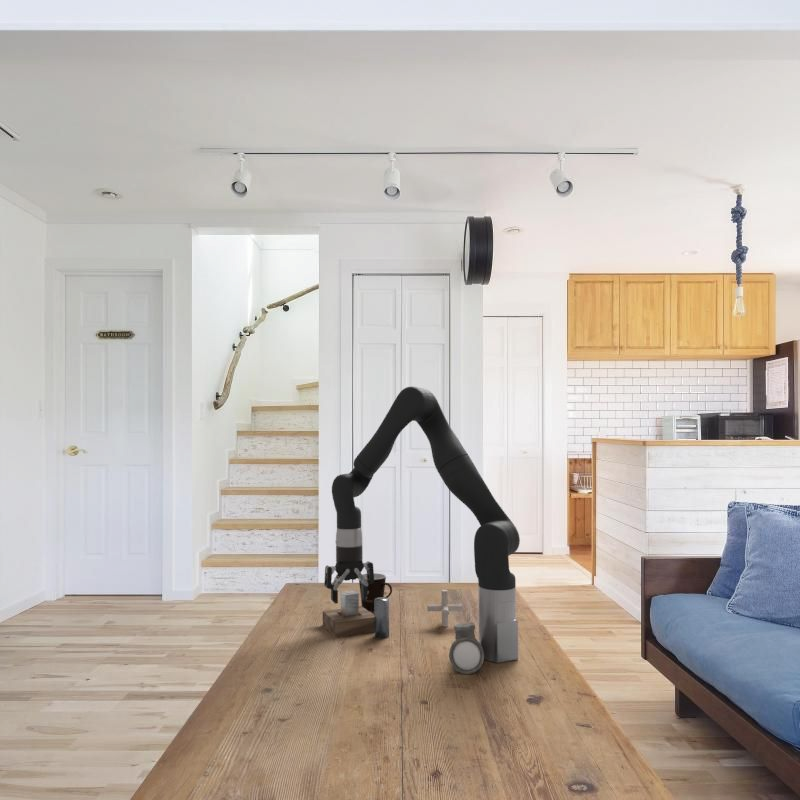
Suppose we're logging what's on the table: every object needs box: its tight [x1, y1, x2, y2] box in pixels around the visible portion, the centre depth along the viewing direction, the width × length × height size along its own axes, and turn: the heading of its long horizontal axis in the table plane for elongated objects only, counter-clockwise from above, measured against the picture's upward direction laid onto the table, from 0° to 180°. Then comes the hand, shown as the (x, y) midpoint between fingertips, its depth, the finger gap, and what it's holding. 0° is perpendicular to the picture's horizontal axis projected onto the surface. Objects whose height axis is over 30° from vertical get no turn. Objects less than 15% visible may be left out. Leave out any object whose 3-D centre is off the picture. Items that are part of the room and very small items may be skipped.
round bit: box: [373, 596, 390, 640], centre depth 178 cm, size 4×4×10 cm
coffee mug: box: [358, 572, 393, 612], centre depth 203 cm, size 12×9×10 cm
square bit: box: [340, 590, 360, 618], centre depth 185 cm, size 4×4×10 cm
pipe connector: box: [426, 589, 463, 628], centre depth 186 cm, size 10×10×10 cm
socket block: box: [322, 605, 375, 638], centre depth 185 cm, size 12×12×4 cm
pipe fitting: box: [448, 622, 485, 675], centre depth 156 cm, size 12×8×10 cm
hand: (349, 601), depth 185 cm, fingers open, 8 cm apart
